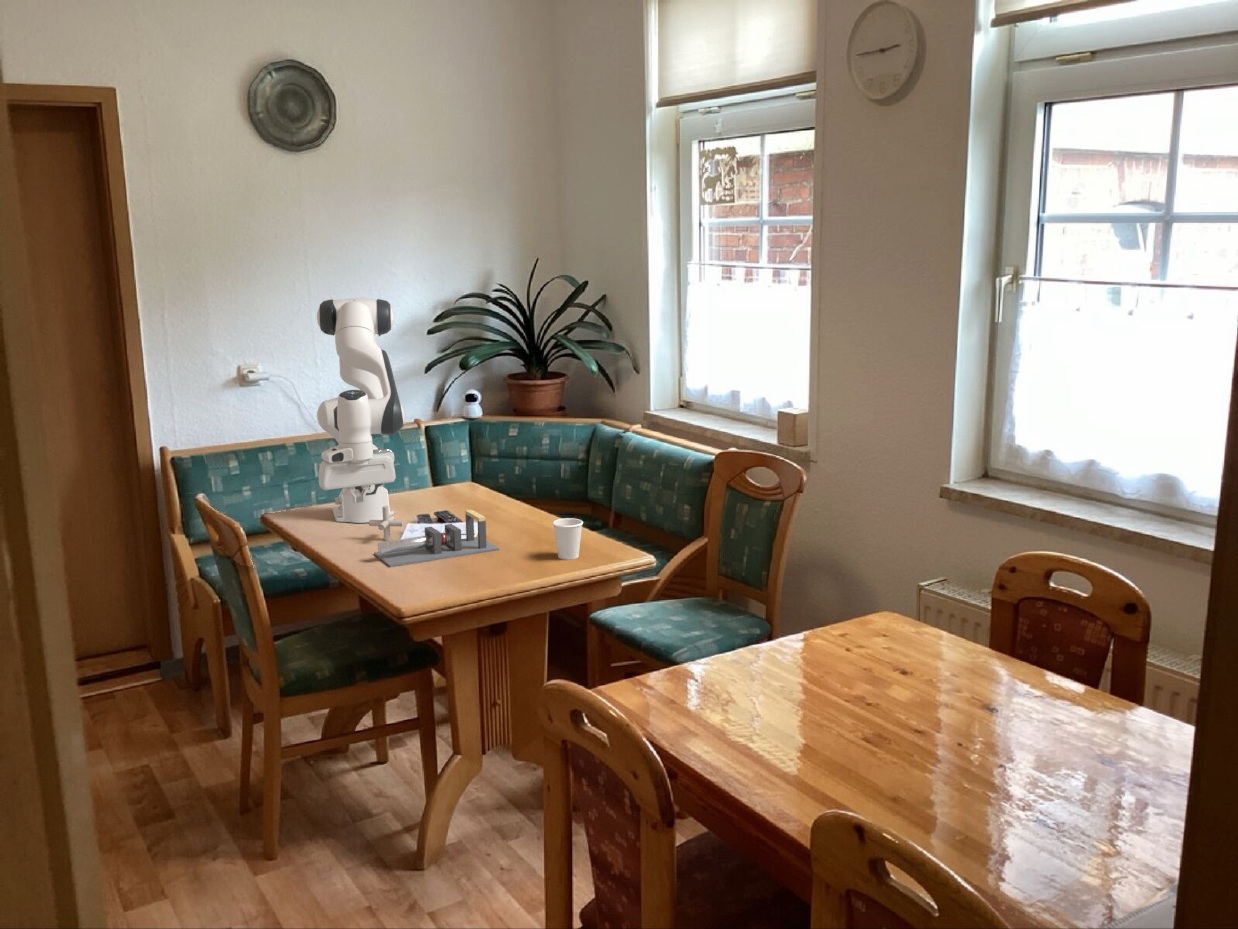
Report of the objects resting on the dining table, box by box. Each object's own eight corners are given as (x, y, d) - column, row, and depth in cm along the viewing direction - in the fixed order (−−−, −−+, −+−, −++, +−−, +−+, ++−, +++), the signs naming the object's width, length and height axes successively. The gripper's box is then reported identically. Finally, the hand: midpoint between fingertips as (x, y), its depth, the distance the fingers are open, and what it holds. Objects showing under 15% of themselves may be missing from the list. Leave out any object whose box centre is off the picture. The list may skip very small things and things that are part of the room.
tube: (377, 552, 296) (377, 540, 295) (446, 542, 306) (445, 530, 305) (381, 556, 293) (381, 543, 292) (450, 545, 303) (450, 533, 302)
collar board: (374, 554, 301) (372, 521, 299) (479, 538, 317) (478, 506, 315) (390, 567, 289) (388, 533, 287) (498, 549, 305) (498, 517, 303)
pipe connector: (408, 535, 320) (407, 502, 318) (398, 544, 310) (396, 511, 308) (376, 534, 321) (374, 502, 319) (365, 543, 311) (363, 510, 309)
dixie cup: (563, 562, 292) (562, 527, 290) (548, 555, 299) (547, 520, 297) (589, 557, 297) (588, 522, 295) (573, 550, 304) (573, 516, 302)
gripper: (390, 446, 294) (392, 495, 296) (315, 453, 284) (318, 504, 286) (397, 449, 288) (400, 499, 291) (321, 457, 278) (324, 509, 281)
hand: (359, 502), depth 288 cm, fingers closed
